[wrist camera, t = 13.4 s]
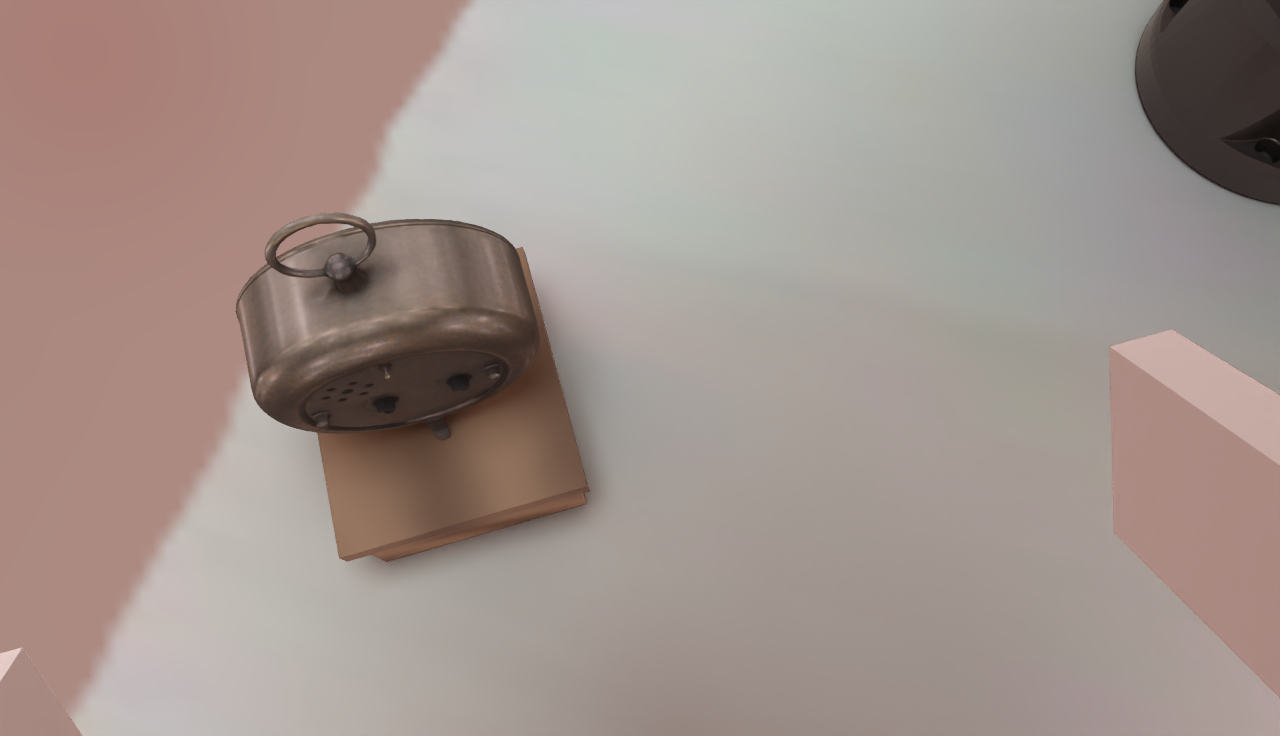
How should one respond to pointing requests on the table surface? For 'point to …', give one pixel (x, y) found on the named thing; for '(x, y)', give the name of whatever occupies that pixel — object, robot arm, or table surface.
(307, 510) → the table surface
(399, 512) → the walnut stand
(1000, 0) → the table surface
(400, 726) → the table surface
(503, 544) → the table surface
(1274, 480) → the robot arm
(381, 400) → the alarm clock
